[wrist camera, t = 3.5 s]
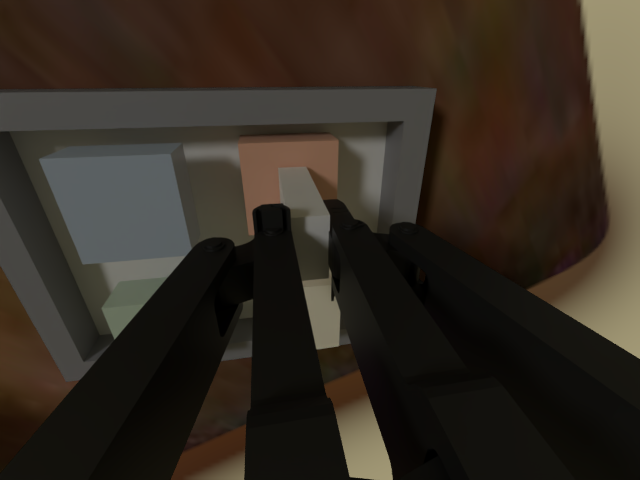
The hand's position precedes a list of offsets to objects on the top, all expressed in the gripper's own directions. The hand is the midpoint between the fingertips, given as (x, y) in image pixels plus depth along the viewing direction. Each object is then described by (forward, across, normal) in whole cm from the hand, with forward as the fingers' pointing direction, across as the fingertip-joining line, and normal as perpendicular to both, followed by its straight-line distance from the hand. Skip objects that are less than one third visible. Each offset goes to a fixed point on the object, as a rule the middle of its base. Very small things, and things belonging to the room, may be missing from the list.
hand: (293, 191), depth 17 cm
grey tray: (+4, -4, -4) cm, 7 cm away
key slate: (+1, -8, 0) cm, 8 cm away
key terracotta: (+3, 0, 0) cm, 3 cm away
